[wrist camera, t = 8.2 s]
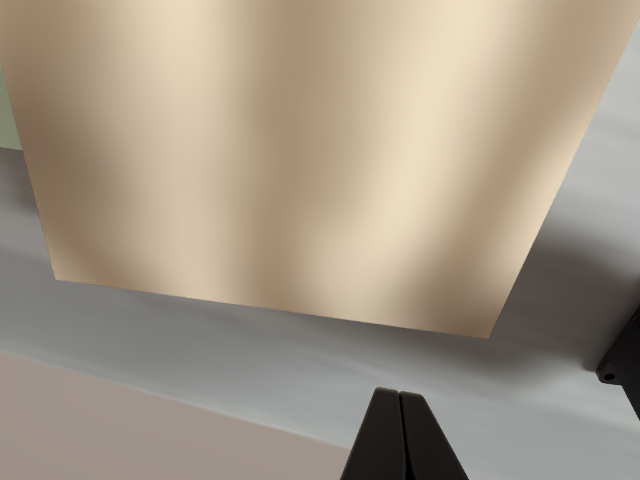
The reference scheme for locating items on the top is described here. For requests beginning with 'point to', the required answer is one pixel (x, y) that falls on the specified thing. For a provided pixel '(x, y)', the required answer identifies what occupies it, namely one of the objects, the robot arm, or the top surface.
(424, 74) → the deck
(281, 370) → the top surface
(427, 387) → the top surface
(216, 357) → the top surface
